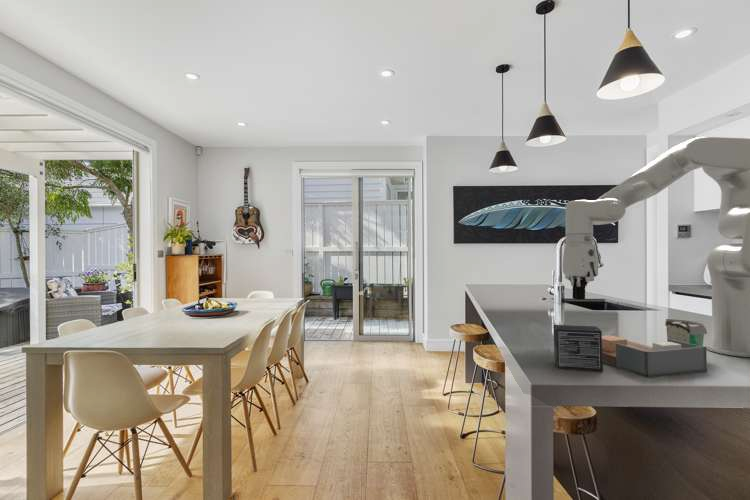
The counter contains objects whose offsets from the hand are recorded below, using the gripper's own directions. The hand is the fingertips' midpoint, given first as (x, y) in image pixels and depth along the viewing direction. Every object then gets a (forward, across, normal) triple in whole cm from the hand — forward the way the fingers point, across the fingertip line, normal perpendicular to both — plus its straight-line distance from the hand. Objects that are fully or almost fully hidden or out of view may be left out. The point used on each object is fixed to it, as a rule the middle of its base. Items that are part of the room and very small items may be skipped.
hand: (578, 299), depth 116 cm
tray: (+15, -23, -4) cm, 28 cm away
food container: (+15, -18, -20) cm, 31 cm away
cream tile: (+12, -21, -7) cm, 25 cm away
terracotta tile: (+13, -11, -1) cm, 17 cm away
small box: (+16, -16, +14) cm, 27 cm away
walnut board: (+15, -12, -4) cm, 19 cm away
